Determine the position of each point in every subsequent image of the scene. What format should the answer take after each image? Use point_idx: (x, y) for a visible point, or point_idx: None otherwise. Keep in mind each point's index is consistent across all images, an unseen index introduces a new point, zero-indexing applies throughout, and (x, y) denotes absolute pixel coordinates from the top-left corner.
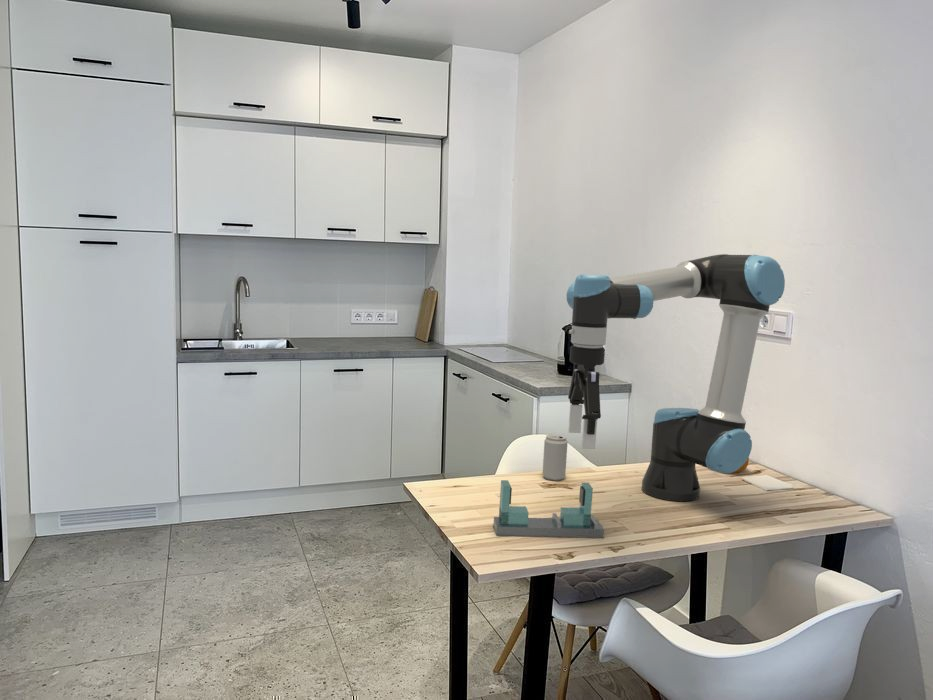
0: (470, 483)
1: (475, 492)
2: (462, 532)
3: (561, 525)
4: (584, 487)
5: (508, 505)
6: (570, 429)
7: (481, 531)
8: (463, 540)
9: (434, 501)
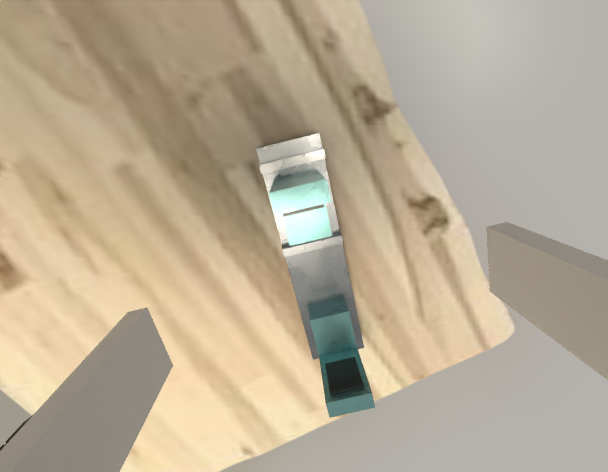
0: None
1: None
2: None
3: None
4: (314, 205)
5: (360, 359)
6: (163, 374)
7: None
8: (393, 380)
9: (224, 452)
